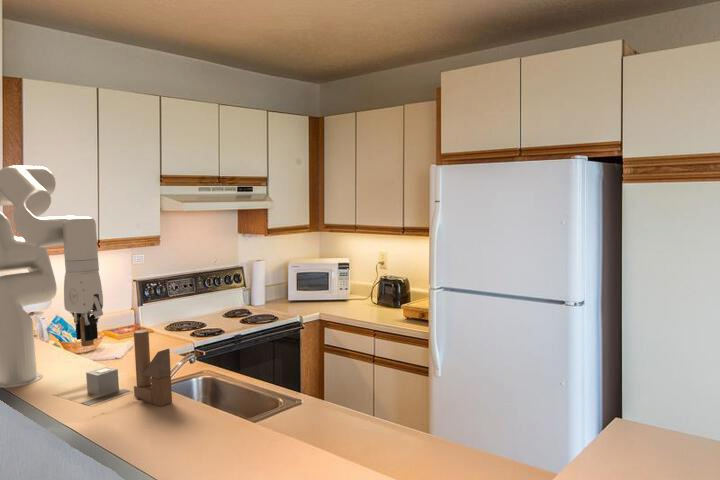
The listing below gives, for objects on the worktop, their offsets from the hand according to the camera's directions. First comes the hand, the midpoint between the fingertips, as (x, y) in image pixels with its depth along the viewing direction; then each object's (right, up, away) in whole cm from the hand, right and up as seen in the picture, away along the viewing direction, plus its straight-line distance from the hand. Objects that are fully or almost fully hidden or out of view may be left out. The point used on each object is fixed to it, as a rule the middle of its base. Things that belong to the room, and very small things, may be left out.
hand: (87, 338), depth 145 cm
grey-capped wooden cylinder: (0, -2, 0) cm, 2 cm away
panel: (-2, -17, +8) cm, 19 cm away
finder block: (0, -16, +10) cm, 19 cm away
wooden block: (+15, -17, +4) cm, 23 cm away
